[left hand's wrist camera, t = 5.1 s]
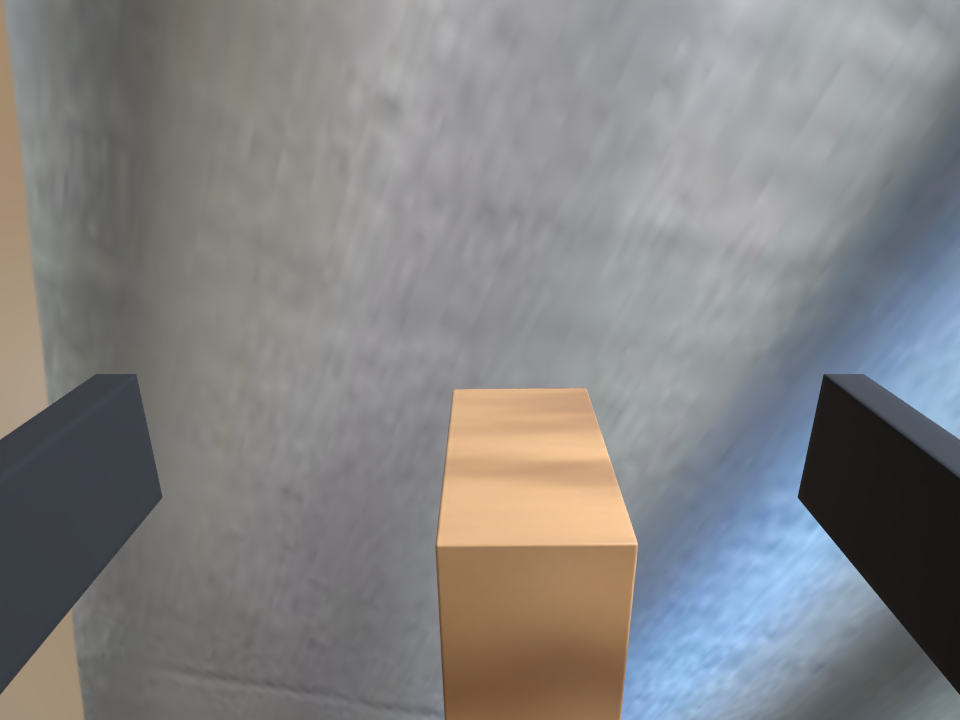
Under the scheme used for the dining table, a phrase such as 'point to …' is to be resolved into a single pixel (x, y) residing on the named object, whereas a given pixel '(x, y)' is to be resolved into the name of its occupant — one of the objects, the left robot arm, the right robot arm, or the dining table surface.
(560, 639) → the long box
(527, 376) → the dining table surface
